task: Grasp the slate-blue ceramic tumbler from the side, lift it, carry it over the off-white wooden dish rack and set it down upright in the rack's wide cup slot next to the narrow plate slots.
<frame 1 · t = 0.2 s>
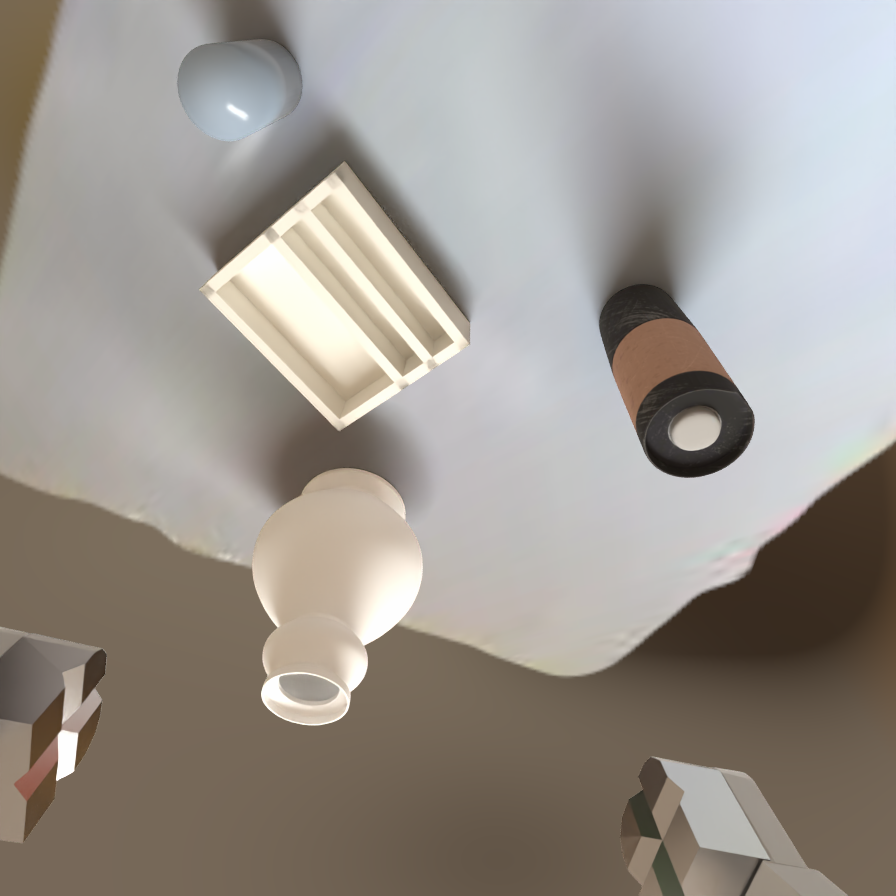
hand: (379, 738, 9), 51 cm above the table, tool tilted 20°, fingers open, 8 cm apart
travel mug: (636, 319, 60), on the table
dish rack: (345, 298, 59), on the table
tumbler: (267, 80, 50), on the table
decorative vase: (353, 509, 75), on the table
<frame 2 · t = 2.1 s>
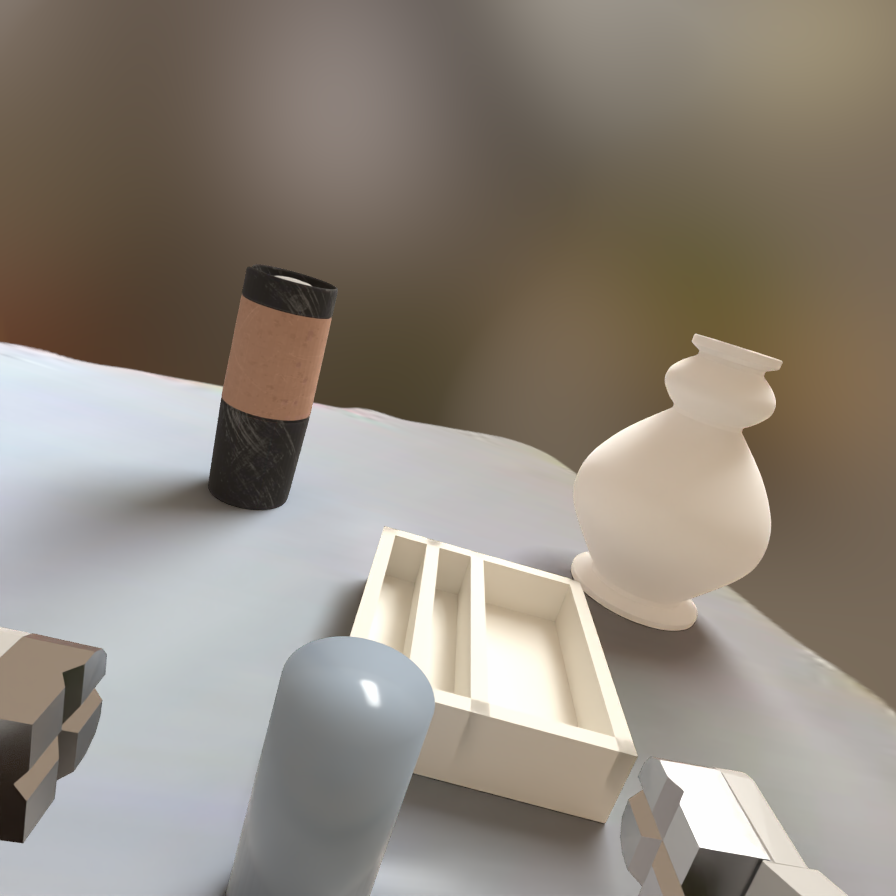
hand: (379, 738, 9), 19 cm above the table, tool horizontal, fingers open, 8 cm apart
travel mug: (248, 493, 58), on the table
dish rack: (464, 676, 42), on the table
decorative vase: (630, 592, 62), on the table
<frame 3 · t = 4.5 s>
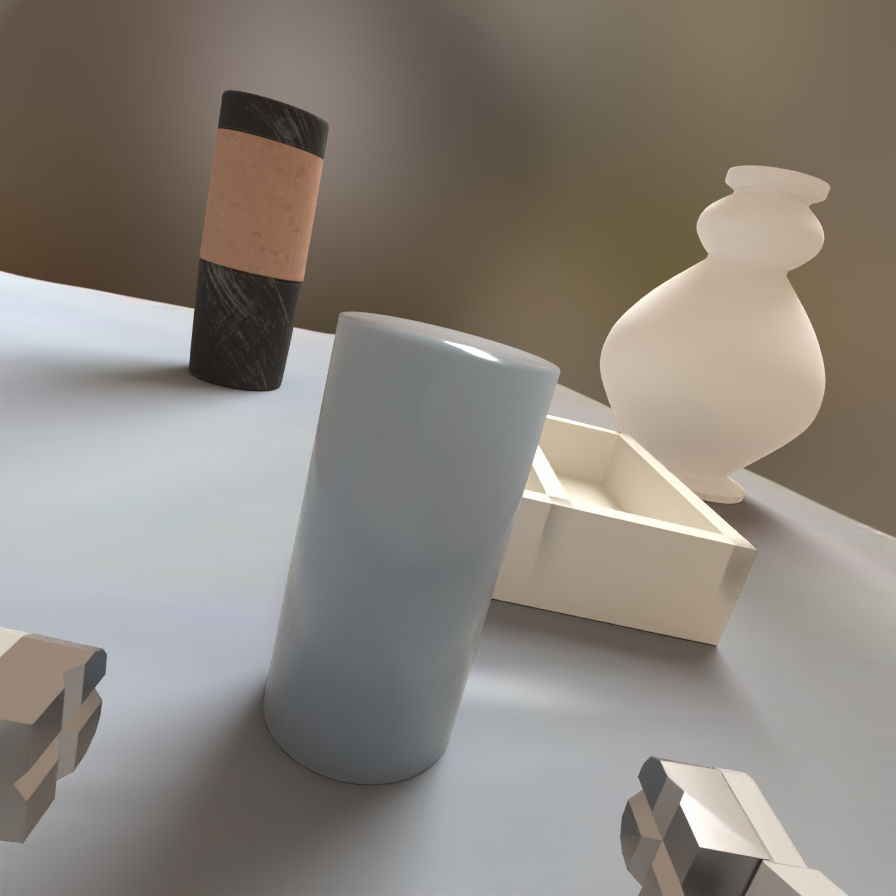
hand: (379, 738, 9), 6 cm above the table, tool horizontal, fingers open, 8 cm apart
travel mug: (235, 379, 51), on the table
dish rack: (515, 523, 35), on the table
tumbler: (359, 707, 18), on the table
decorative vase: (668, 475, 56), on the table
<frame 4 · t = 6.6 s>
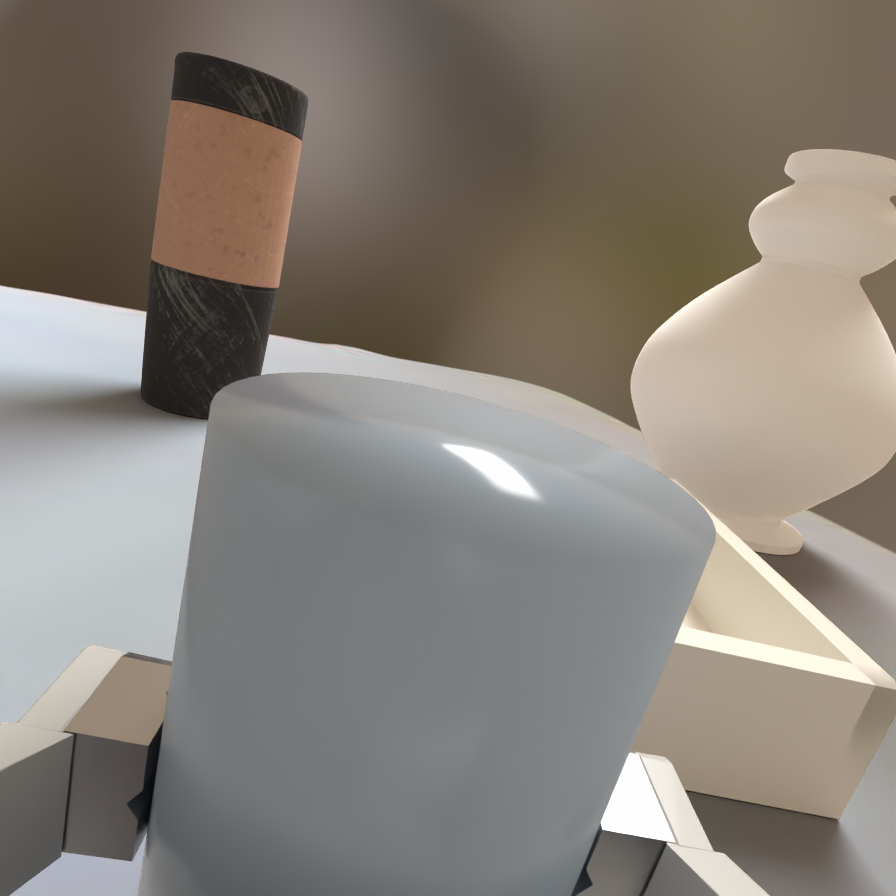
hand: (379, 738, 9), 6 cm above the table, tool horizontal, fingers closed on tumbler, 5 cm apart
travel mug: (198, 404, 42), on the table
dish rack: (539, 608, 27), on the table
decorative vase: (710, 516, 48), on the table
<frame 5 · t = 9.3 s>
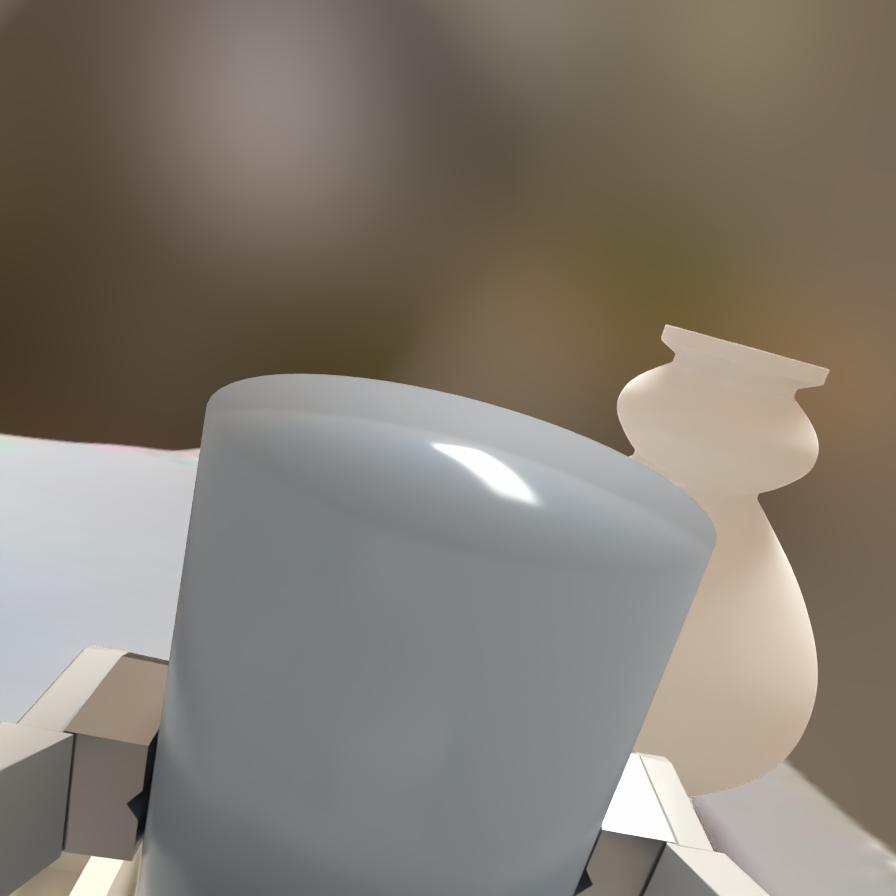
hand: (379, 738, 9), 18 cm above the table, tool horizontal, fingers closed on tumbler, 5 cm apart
decorative vase: (579, 762, 37), on the table
when the fingers open (9 cm above the table, at t = 12.2 s): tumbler drops 2 cm, resting on dish rack.
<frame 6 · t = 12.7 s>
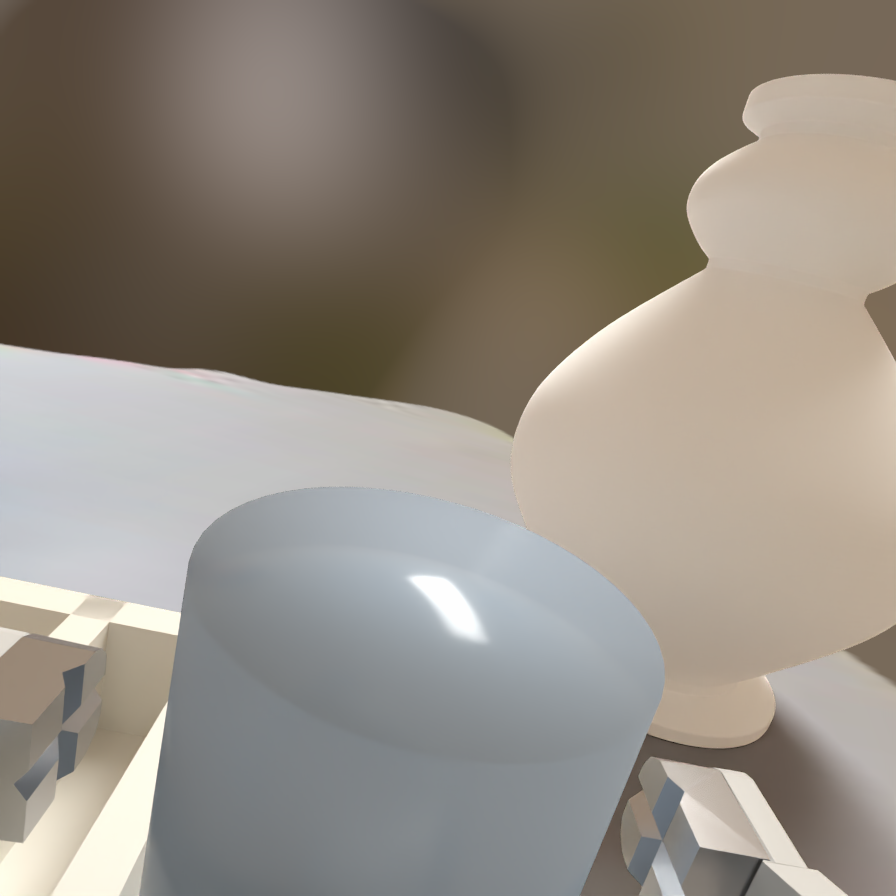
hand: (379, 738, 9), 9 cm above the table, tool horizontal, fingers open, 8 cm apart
decorative vase: (636, 655, 31), on the table
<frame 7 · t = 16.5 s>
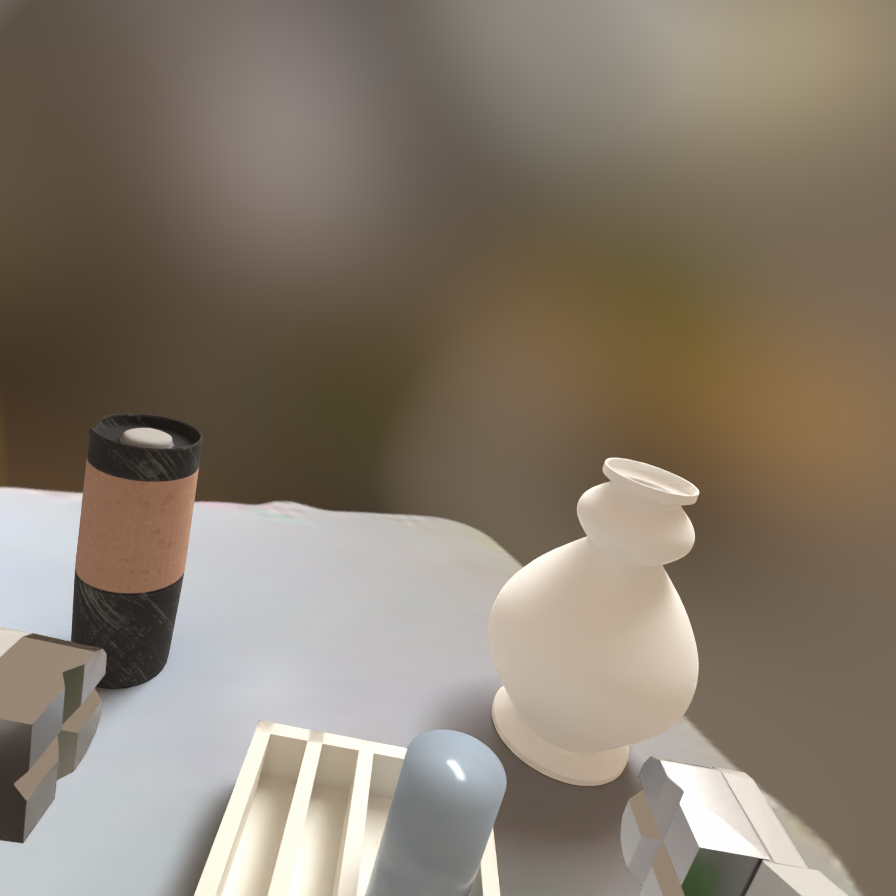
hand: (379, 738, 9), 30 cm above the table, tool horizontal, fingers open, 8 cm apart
travel mug: (120, 661, 51), on the table
decorative vase: (557, 731, 57), on the table
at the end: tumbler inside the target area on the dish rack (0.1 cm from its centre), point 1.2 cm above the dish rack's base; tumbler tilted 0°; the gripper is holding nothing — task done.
